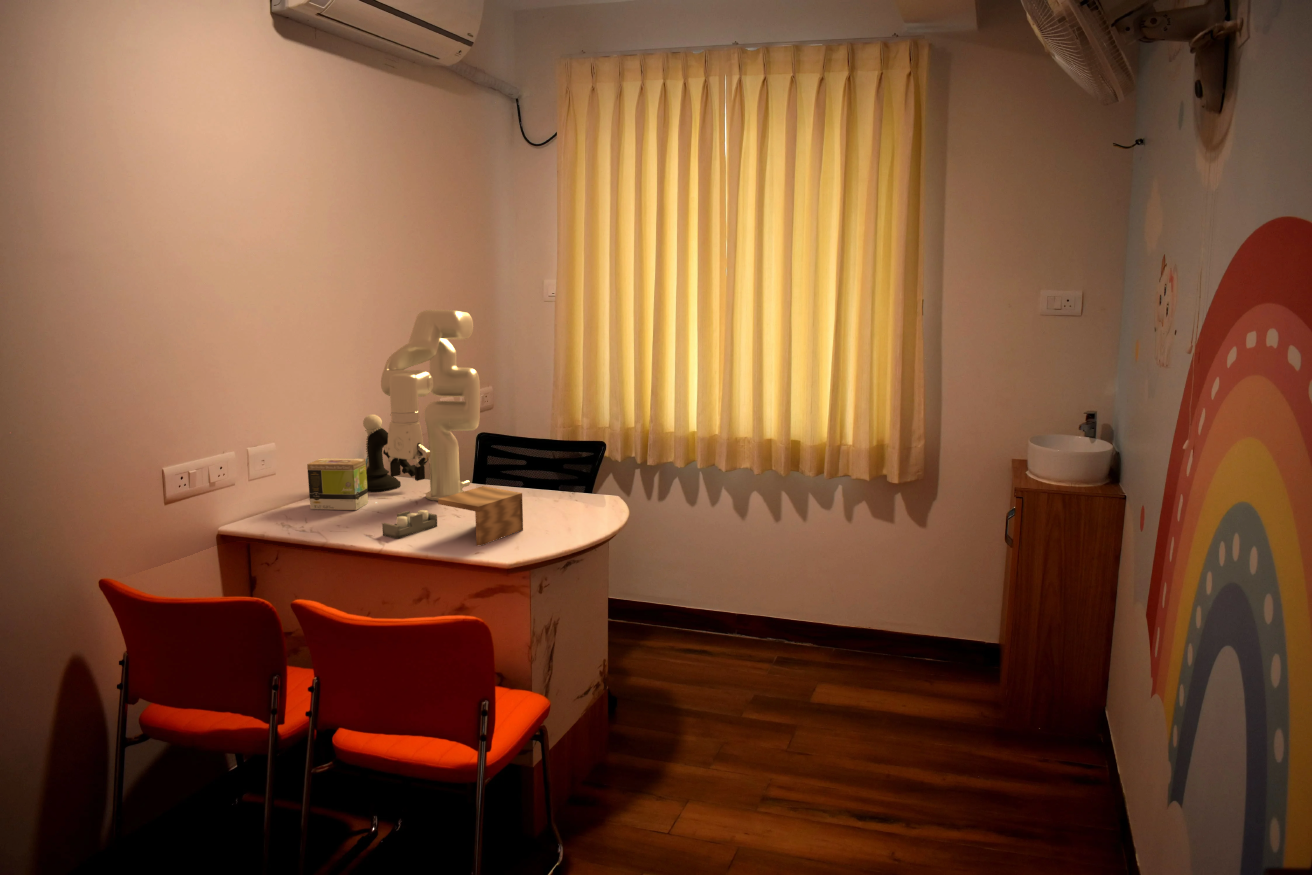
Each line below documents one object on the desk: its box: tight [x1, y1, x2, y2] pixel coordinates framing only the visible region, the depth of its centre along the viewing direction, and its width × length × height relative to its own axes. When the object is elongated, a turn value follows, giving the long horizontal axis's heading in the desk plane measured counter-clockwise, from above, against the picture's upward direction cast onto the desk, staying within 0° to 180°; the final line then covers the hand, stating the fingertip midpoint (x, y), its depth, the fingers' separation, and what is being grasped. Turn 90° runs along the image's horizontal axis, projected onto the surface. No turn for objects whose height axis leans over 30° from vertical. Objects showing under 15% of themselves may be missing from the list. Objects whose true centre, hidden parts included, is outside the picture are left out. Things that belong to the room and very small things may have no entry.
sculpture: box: [362, 414, 416, 493], centre depth 309 cm, size 15×24×25 cm, turn 68°
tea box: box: [306, 457, 369, 511], centre depth 286 cm, size 15×10×15 cm, turn 84°
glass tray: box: [381, 509, 438, 540], centre depth 261 cm, size 6×15×5 cm, turn 148°
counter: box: [437, 485, 524, 546], centre depth 258 cm, size 18×15×11 cm
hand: (407, 477), depth 258 cm, fingers open, 9 cm apart
